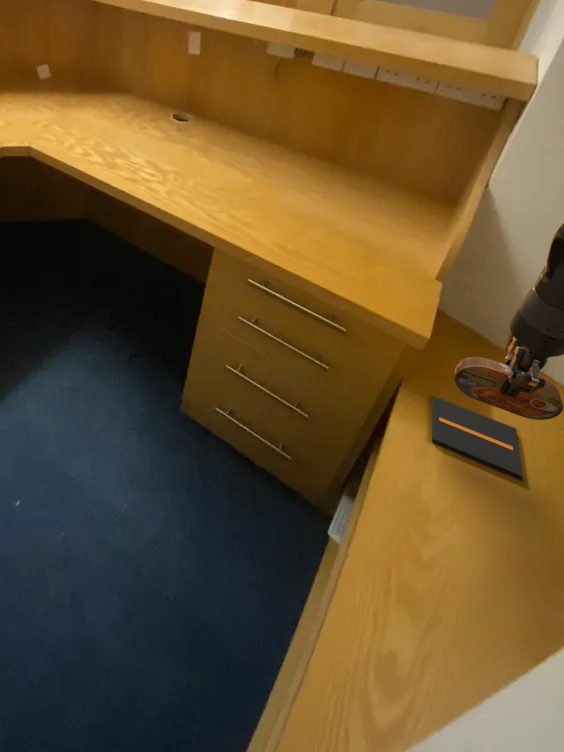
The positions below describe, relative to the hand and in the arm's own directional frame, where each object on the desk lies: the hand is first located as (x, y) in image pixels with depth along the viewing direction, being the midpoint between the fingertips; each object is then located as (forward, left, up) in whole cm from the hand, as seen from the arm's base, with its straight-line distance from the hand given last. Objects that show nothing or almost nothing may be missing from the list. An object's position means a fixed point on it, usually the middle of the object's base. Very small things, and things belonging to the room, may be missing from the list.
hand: (506, 387), depth 87 cm
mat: (0, -2, -17) cm, 17 cm away
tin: (0, 0, -4) cm, 4 cm away
